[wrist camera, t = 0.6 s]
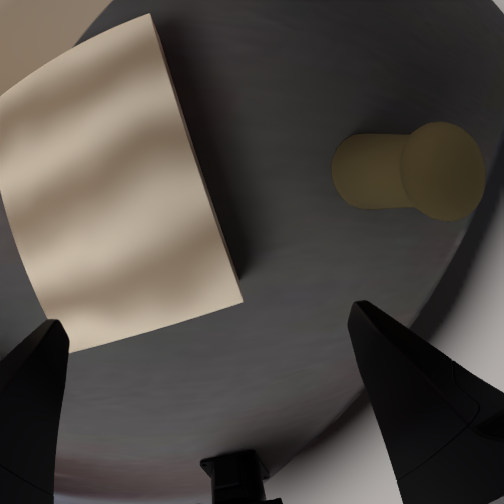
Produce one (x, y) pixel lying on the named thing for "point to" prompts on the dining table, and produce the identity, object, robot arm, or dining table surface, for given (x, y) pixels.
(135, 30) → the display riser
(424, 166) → the cork
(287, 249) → the dining table surface
